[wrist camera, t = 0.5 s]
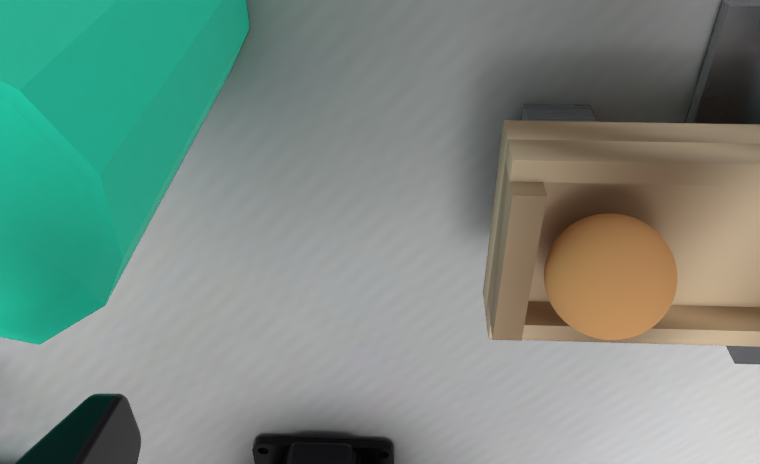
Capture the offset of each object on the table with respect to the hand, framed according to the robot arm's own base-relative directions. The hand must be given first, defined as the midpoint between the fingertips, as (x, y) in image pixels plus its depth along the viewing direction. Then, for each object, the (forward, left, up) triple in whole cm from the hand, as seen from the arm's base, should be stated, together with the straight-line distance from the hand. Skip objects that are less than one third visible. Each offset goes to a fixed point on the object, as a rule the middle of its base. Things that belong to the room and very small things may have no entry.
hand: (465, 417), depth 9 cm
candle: (+1, +8, -13) cm, 16 cm away
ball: (-4, -4, -8) cm, 10 cm away
